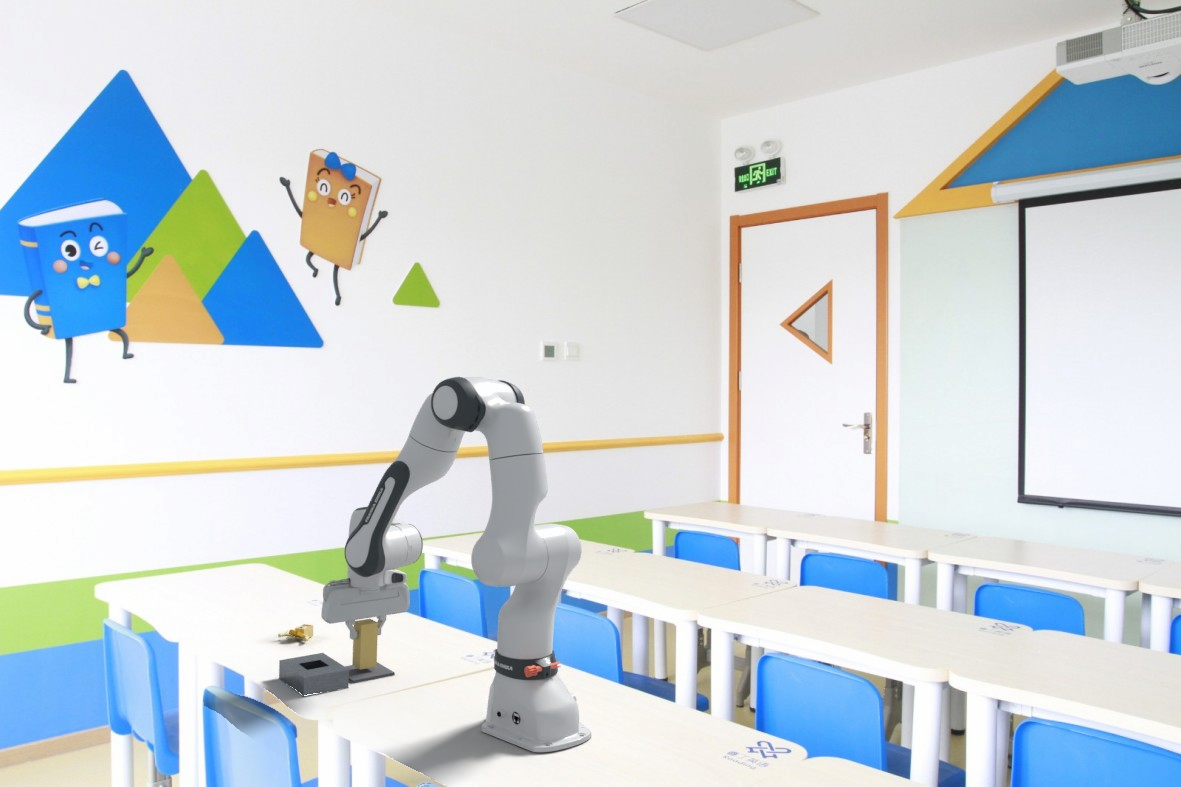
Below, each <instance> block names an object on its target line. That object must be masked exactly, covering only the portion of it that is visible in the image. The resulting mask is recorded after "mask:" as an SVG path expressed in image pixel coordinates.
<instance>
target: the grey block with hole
mask: <svg viewBox="0 0 1181 787" xmlns="http://www.w3.org/2000/svg"><path fill="white" fill-rule="evenodd" d="M278 669H279V670H278V679H279V680H280V681H282V682H284V684H286V685H287V684H288V685H287V686H288V687H290V686H291V687H293V688H294V689H296V690H297V691H298V692H300V693H301V694H302V695H303V696H304V695H307V694H313V693H320V692H325V693H328V692H327V691H330V692H334V690H335V691H339V690H338V689H340V690H344V689H349V685H350V683H349V682H350V681H349V669H348V668H346V667H344V665H343V664H342V663H340V662H338V661H336V660H335V659H334V658H332V657H331V656H329V655H328V654H325V653H324V652H320V653H313V654H309V655H303V656H297V657H291V658H285V659H280V660H279V665H278ZM291 687H290V688H291ZM293 688H292V689H293ZM294 689H293V690H294ZM298 692H297V693H298ZM320 694H321V693H320ZM302 695H301V696H302ZM303 696H302V697H303Z"/></svg>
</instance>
